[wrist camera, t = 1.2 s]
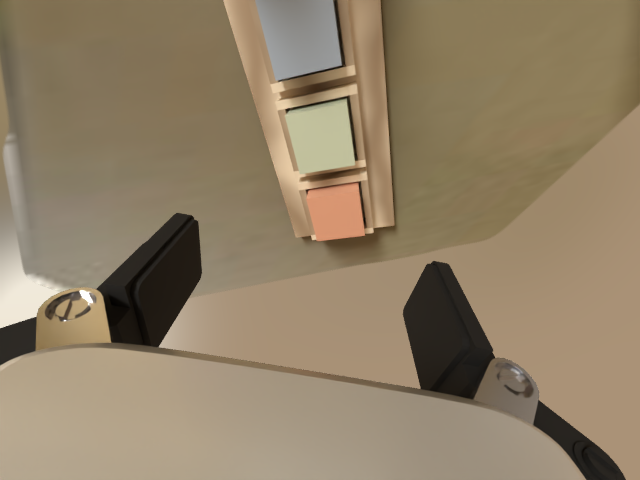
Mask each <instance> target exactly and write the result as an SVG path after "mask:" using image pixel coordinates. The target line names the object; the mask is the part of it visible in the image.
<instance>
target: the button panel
mask: <svg viewBox="0 0 640 480" xmlns="http://www.w3.org/2000/svg"><path fill="white" fill-rule="evenodd" d="M223 1H224V4H225V7H226V11H227V14H228V17H229V20H230V24H231V27H232V30H233V33H234V37H235V40H236V43H237V46H238V50H239V53H240V56H241V59H242V63H243V66H244V69H245V73H246V76H247V79H248V82H249V86H250V89H251V92H252V95H253V99H254V102H255V105H256V108H257V112H258V115H259V118H260V121H261V125H262V128H263V131H264V134H265V138H266V141H267V144H268V148H269V151H270V154H271V157H272V161H273V164H274V167H275V170H276V174H277V177H278V180H279V183H280V187H281V190H282V193H283V196H284V200H285V203H286V206H287V209H288V213H289V216H290V219H291V223H292V226H293V229H294V232H295V236H296V237H304V236H311V238H312V240H317V239H316V235H315V231H314V227H313V223H312V220H311V216H310V212H309V208H308V204H307V200H306V198H307V194H308V191H309V189H312V188H318V187H324V186H331V185H337V184H344V183H350V182H357V181H358V183H359V190H360V198H361V205H362V213H363V220H364V231H365V234H368V233H374V231H373V228H377V227H385V226H394V210H393V194H392V178H391V162H390V146H389V130H388V114H387V98H386V82H385V66H384V49H383V33H382V17H381V1H380V0H334V5H335V12H336V19H337V27H338V34H339V42H340V49H341V57H342V65H341V66H337V67H332V68H328V69H324V70H320V71H315V72H311V73H307V74H303V75H298V76H294V77H290V78H285V79H281V80H277V81H276V80H275V76H274V72H273V68H272V64H271V60H270V56H269V52H268V49H267V45H266V41H265V37H264V33H263V29H262V25H261V21H260V17H259V14H258V10H257V6H256V2H255V0H223ZM343 98H347V101H348V109H349V116H350V123H351V131H352V138H353V146H354V153H355V165H354V166H347V167H341V168H335V169H329V170H323V171H317V172H311V173H305V174H300V173H299V169H298V165H297V161H296V157H295V154H294V150H293V146H292V142H291V138H290V134H289V130H288V126H287V122H286V119H285V115H286V114H287V113H288V112H289V110H291V109H296V108H300V107H305V106H310V105H314V104H319V103H324V102H329V101H333V100H338V99H343Z"/></svg>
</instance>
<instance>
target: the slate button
mask: <svg viewBox="0 0 640 480" xmlns="http://www.w3.org/2000/svg"><path fill="white" fill-rule="evenodd" d="M255 2H256V6H257V10H258V14H259V17H260V21H261V25H262V29H263V33H264V37H265V41H266V45H267V49H268V52H269V56H270V60H271V64H272V68H273V72H274V76H275V80H276V81H277V80H281V79H285V78H290V77H294V76H298V75H303V74H307V73H311V72H315V71H320V70H324V69H328V68H332V67H337V66H341V65H342V57H341V49H340V42H339V34H338V27H337V19H336V12H335V5H334V0H255Z"/></svg>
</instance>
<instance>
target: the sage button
mask: <svg viewBox="0 0 640 480" xmlns="http://www.w3.org/2000/svg"><path fill="white" fill-rule="evenodd" d="M285 119H286V122H287V126H288V130H289V134H290V138H291V142H292V146H293V150H294V154H295V157H296V161H297V165H298V169H299V173H300V174H305V173H311V172H317V171H323V170H329V169H335V168H341V167H347V166H354V165H355V153H354V146H353V138H352V131H351V123H350V116H349V109H348V101H347V98H343V99H338V100H333V101H329V102H324V103H319V104H314V105H310V106H305V107H300V108H296V109H291V110H289V112H288V113H287V114H286V115H285Z"/></svg>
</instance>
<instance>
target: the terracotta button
mask: <svg viewBox="0 0 640 480" xmlns="http://www.w3.org/2000/svg"><path fill="white" fill-rule="evenodd" d="M306 200H307V204H308V208H309V212H310V216H311V220H312V223H313V227H314V231H315V235H316V239H317V241H324V240H332V239H341V238H349V237H358V236H365V231H364V220H363V213H362V205H361V198H360V190H359V183H358V181H357V182H350V183H344V184H337V185H331V186H324V187H318V188H312V189H309V191H308V194H307V198H306Z"/></svg>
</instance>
